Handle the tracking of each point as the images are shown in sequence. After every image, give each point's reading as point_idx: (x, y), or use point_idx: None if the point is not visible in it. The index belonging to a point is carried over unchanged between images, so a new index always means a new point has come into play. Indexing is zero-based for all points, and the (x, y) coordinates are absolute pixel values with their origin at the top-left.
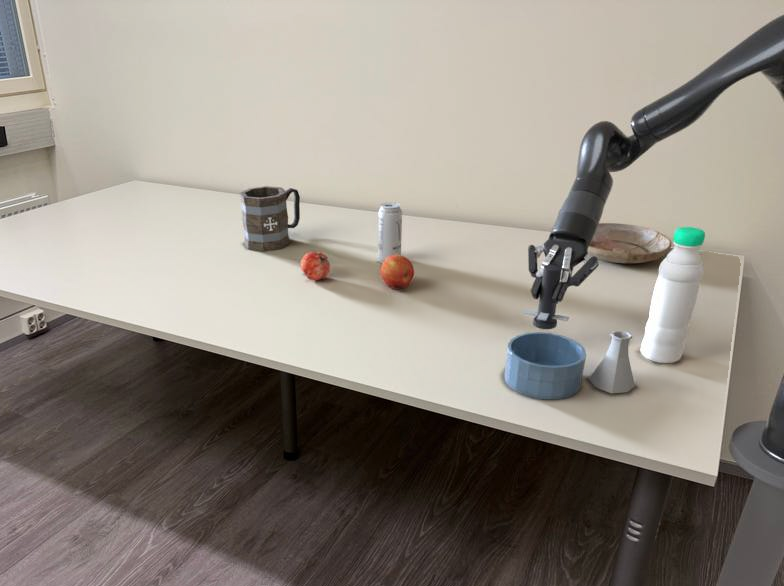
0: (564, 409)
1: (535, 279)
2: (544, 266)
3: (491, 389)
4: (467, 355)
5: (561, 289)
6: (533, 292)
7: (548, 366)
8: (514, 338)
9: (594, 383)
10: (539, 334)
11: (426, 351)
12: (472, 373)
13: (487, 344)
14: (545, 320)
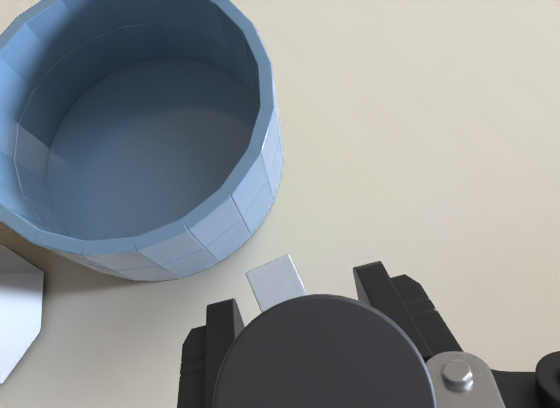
0: None
1: (458, 348)
2: (415, 356)
3: None
4: (441, 103)
5: (199, 383)
6: (377, 265)
7: (39, 5)
8: (265, 75)
9: (10, 253)
10: (218, 191)
11: (550, 22)
12: (339, 35)
13: (463, 218)
14: (248, 273)
